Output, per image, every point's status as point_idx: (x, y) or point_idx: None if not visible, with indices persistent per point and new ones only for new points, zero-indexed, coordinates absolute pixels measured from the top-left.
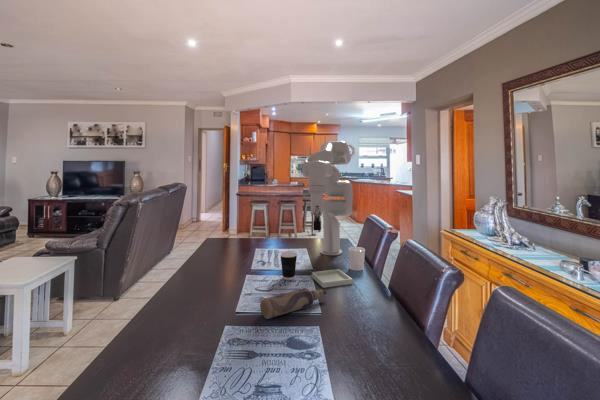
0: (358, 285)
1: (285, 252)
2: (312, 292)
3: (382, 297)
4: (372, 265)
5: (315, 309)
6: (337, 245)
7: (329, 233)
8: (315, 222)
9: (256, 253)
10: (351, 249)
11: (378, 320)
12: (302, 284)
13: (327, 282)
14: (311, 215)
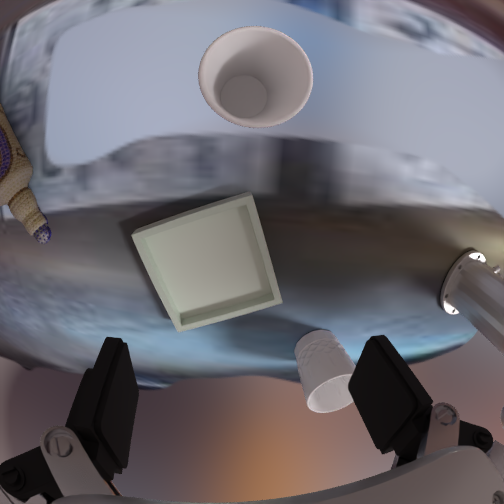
0: (167, 334)
1: (303, 59)
2: (9, 204)
3: None
4: None
5: None
6: (463, 314)
7: (498, 313)
8: (66, 422)
9: (485, 45)
10: None
11: (13, 322)
12: (166, 152)
13: (138, 250)
14: (70, 496)
